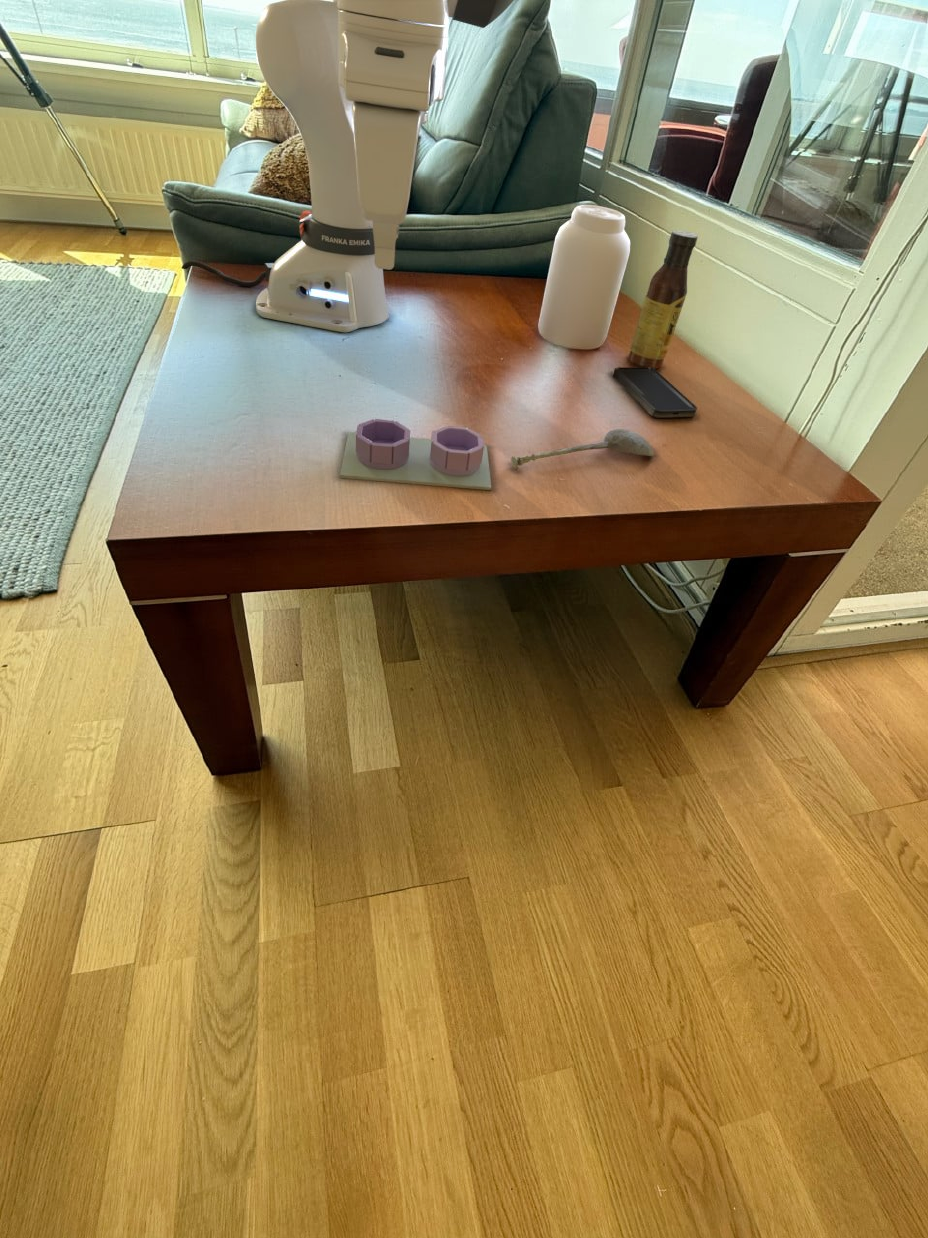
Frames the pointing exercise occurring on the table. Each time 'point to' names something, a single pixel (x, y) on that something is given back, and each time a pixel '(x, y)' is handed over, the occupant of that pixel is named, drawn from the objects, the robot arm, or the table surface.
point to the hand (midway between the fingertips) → (387, 251)
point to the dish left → (382, 444)
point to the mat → (413, 468)
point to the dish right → (456, 450)
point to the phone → (654, 392)
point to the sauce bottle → (663, 303)
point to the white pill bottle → (584, 278)
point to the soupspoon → (600, 446)
